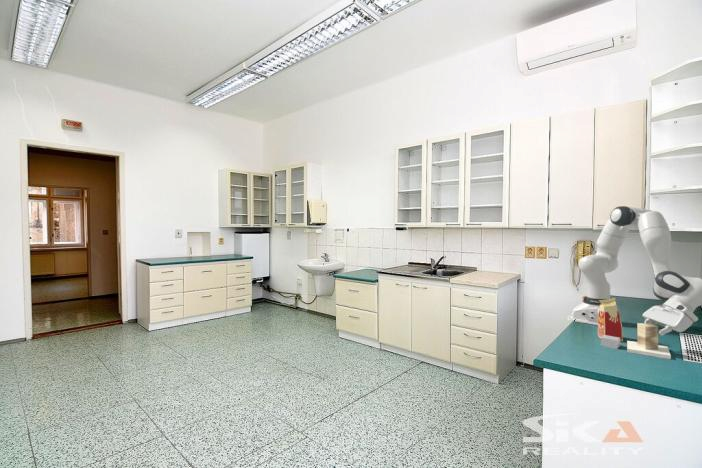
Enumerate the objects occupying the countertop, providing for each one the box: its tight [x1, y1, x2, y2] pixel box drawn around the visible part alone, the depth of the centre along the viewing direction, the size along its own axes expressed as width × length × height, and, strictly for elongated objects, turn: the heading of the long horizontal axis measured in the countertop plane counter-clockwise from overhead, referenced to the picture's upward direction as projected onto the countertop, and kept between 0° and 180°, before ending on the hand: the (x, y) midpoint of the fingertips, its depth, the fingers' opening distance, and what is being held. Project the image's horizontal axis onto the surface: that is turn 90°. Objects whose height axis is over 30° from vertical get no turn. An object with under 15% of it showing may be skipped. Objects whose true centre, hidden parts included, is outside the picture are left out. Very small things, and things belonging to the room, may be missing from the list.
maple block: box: [636, 322, 659, 350], centre depth 153 cm, size 5×5×10 cm
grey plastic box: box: [600, 335, 621, 350], centre depth 160 cm, size 6×6×4 cm
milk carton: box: [597, 297, 624, 342], centre depth 171 cm, size 9×9×20 cm
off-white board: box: [626, 340, 672, 360], centre depth 153 cm, size 14×14×2 cm
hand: (651, 330), depth 152 cm, fingers open, 8 cm apart
